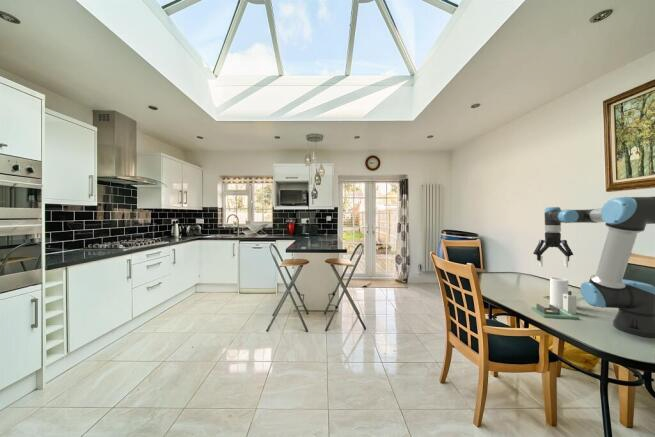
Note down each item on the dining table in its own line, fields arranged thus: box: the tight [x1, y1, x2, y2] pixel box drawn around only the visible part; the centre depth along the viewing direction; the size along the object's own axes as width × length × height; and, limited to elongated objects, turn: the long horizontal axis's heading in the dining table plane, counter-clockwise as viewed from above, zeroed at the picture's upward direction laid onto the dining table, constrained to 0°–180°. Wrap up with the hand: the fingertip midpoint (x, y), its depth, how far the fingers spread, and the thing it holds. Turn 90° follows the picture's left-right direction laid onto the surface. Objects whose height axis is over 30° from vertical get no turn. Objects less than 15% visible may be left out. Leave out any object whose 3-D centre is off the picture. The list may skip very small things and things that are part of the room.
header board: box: [531, 303, 580, 320], centre depth 144 cm, size 12×16×4 cm
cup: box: [549, 276, 569, 309], centre depth 157 cm, size 8×8×16 cm
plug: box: [562, 290, 577, 315], centre depth 146 cm, size 4×4×12 cm
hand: (553, 266), depth 161 cm, fingers open, 13 cm apart
